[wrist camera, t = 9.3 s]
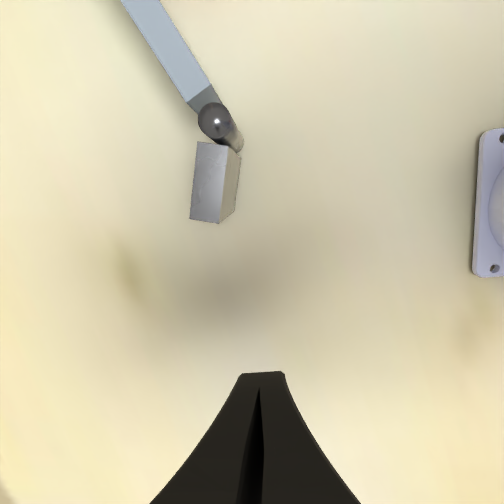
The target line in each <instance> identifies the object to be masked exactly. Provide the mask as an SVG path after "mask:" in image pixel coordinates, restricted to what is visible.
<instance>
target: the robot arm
mask: <svg viewBox="0 0 504 504" xmlns="http://www.w3.org/2000/svg"><path fill="white" fill-rule="evenodd" d="M501 134H502V135H503V136H504V128H498V129H492V130H489V131H486V132H485V133H483V134H482V136H481V137H480V141H479V159H478V176H477V193H476V211H475V228H474V245H473V262H472V271H473V273H474V274H475V275H477V276H479V277H483V278H486V277H498V276H504V141H503V142H502V143H501V142H500V140H499V138H500V135H501ZM492 265H494V266H495V267H494V269H493V270H492V271H490V267H491V266H492ZM150 504H361V503H360V502H359V501H358V499H357V498H356V497H355V495H354V494H353V493H352V492H351V490H350V489H349V488H348V486H347V485H346V484H345V482H344V481H343V480H342V478H341V477H340V476H339V474H338V473H337V472H336V470H335V469H334V467H333V466H332V465H331V463H330V462H329V460H328V459H327V457H326V456H325V454H324V453H323V451H322V450H321V448H320V447H319V445H318V443H317V442H316V440H315V439H314V437H313V435H312V434H311V432H310V430H309V429H308V427H307V425H306V423H305V421H304V420H303V418H302V416H301V414H300V412H299V410H298V408H297V406H296V404H295V402H294V400H293V398H292V396H291V393H290V391H289V388H288V386H287V383H286V379H285V374H284V373H282V372H281V371H274V372H258V373H242V374H241V375H240V376H239V377H238V380H237V382H236V384H235V386H234V387H233V389H232V391H231V393H230V395H229V397H228V398H227V400H226V402H225V404H224V405H223V407H222V409H221V410H220V412H219V413H218V415H217V417H216V418H215V420H214V421H213V423H212V425H211V426H210V428H209V429H208V431H207V432H206V433H205V435H204V436H203V438H202V439H201V440H200V442H199V443H198V445H197V446H196V448H195V449H194V450H193V452H192V453H191V455H190V456H189V457H188V458H187V460H186V461H185V462H184V464H183V465H182V466H181V467H180V469H179V470H178V471H177V472H176V474H175V475H174V476H173V477H172V478H171V480H170V481H169V482H168V483H167V485H166V486H165V487H164V488H163V489H162V490H161V491H160V493H159V494H158V495H157V496H156V497H155V498H154V499H153V500H152V501H151V503H150Z"/></svg>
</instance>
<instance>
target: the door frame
mask: <svg viewBox="0 0 504 504" xmlns="http://www.w3.org/2000/svg"><path fill="white" fill-rule="evenodd" d="M198 124H199V127H200V129H201V130H202V132H203V133H204V134H206V135H207V136H208V137H209V138H211V139H212V140H213V141H214V142H216V143H217V144H218V145H217V144H210V143H204V142H197V152H196V161H195V171H194V180H193V190H192V199H191V209H190V218H189V219H193V220H199V221H205V222H212V223H218V224H219V223H220V222H221V221H222V220H224V219H225V218H226V217H227V216H229V215H230V214H231V213H232V212H234V207H235V200H236V192H237V185H238V178H239V171H240V164H241V158H240V157H239V156H238V155H237V154H236V152H238V151H240V150H241V148H242V147H243V137H242V135H241V133H240V132H239V130H238V128H237V126H236V124H235V122H234V121H233V119H232V117H231V115H230V113H229V111H228V110H227V108H226V107H225V106H224V105H222V104H220V103H217V102H211V103H208V104H206V105H204V106H203V107H202V109H201V110H200V112H199V115H198Z"/></svg>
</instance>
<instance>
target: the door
mask: <svg viewBox="0 0 504 504" xmlns="http://www.w3.org/2000/svg"><path fill="white" fill-rule="evenodd" d="M121 2H122V4H123V5H124V7H125V8H126V10H127V11H128V13H129V14H130V16H131V18H132V19H133V21H134V22H135V24H136V25H137V27H138V28H139V30H140V32H141V33H142V35H143V36H144V38H145V39H146V41H147V42H148V44H149V46H150V47H151V49H152V50H153V52H154V53H155V55H156V56H157V58H158V60H159V61H160V63H161V64H162V66H163V67H164V69H165V70H166V72H167V74H168V75H169V77H170V78H171V80H172V81H173V83H174V84H175V86H176V87H177V89H178V91H179V92H180V94H181V95H182V97H183V98H184V100H185V101H186V103H187V104H188V105H189V106H190V107H191V108H192V109H193V110H194V111H195V112H196V113H197V114H198V115H199V112H200V110H201V109H202V107H203V106H204V105H206V104H208V103H211V102H217V103H220V104H222V102H221V101H220V99H219V97H218V95H217V94H216V92H215V90H214V88H213V87H212V85H211V83H210V82H209V80H208V78H207V77H206V75H205V73H204V72H203V70H202V69H201V67H200V65H199V64H198V62H197V61H196V59H195V57H194V56H193V54H192V53H191V51H190V49H189V48H188V46H187V45H186V43H185V41H184V40H183V38H182V36H181V35H180V33H179V32H178V30H177V28H176V27H175V25H174V24H173V22H172V20H171V19H170V17H169V16H168V14H167V12H166V11H165V9H164V8H163V6H162V4H161V3H160V1H159V0H121ZM222 105H223V104H222Z"/></svg>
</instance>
